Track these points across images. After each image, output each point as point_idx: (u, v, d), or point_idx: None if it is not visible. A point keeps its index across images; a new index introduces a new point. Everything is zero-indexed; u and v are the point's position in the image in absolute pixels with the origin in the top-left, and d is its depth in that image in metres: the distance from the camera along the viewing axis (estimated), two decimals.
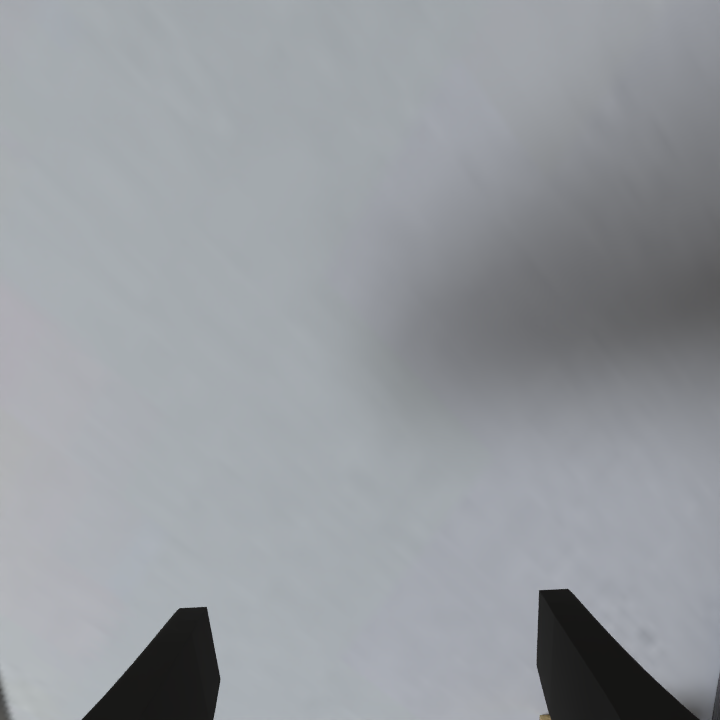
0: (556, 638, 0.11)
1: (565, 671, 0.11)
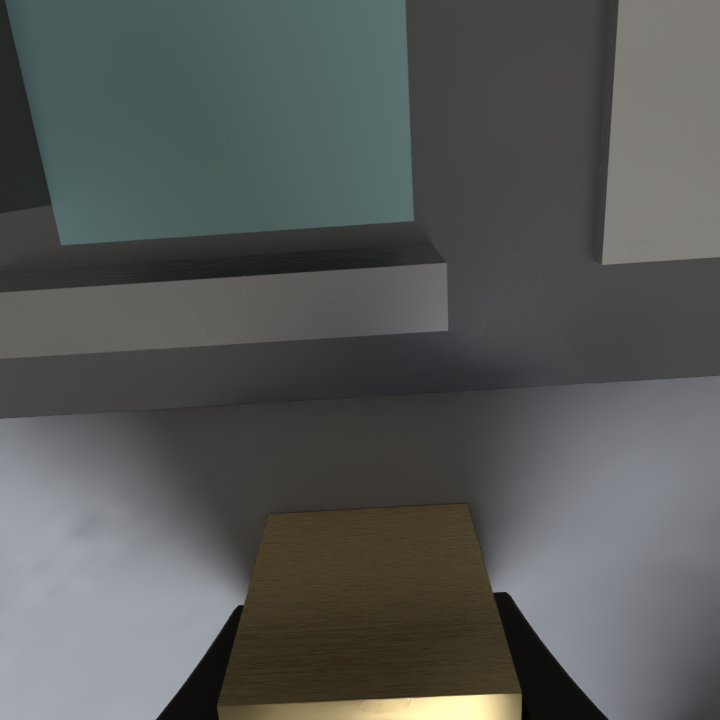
0: None
1: None
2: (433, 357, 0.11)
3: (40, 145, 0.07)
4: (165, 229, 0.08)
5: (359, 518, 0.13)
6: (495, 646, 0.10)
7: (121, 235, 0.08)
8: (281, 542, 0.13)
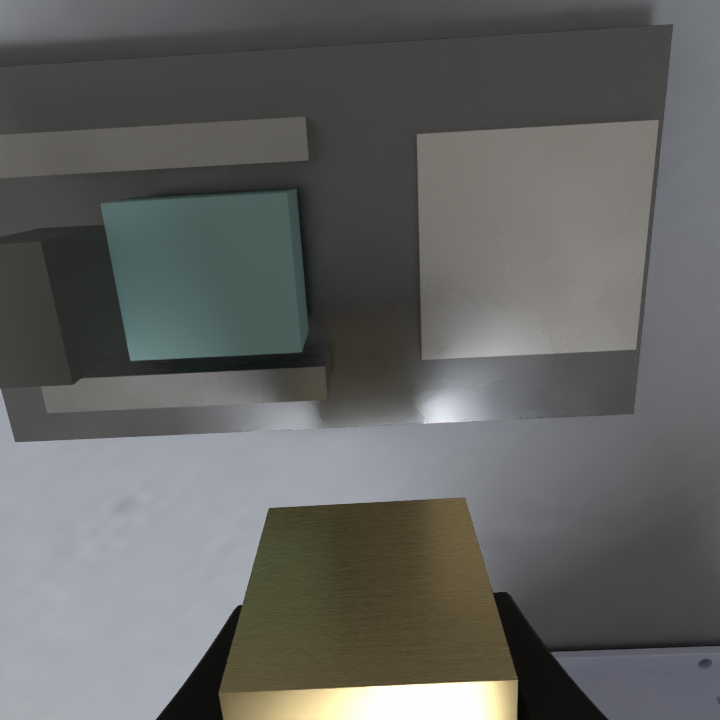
0: None
1: None
2: (333, 407, 0.19)
3: (122, 316, 0.15)
4: (181, 354, 0.16)
5: (358, 512, 0.13)
6: (492, 635, 0.10)
7: (159, 356, 0.16)
8: (281, 534, 0.13)
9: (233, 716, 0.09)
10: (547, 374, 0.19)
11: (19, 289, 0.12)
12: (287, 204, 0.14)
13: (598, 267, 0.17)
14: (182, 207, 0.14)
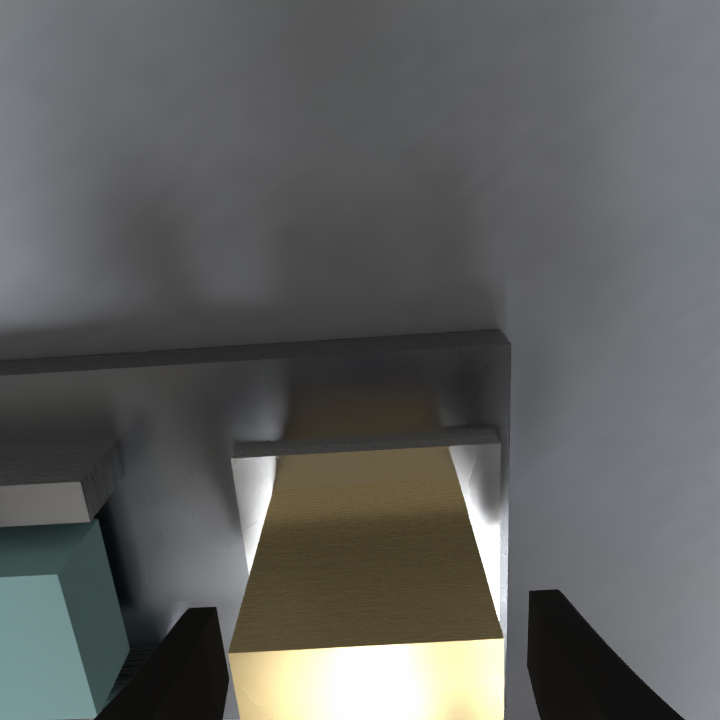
0: (545, 639, 0.11)
1: (554, 672, 0.11)
2: None
3: None
4: None
5: (357, 493, 0.14)
6: (481, 600, 0.10)
7: None
8: (284, 514, 0.13)
9: (241, 675, 0.10)
10: None
11: None
12: (59, 584, 0.13)
13: None
14: None
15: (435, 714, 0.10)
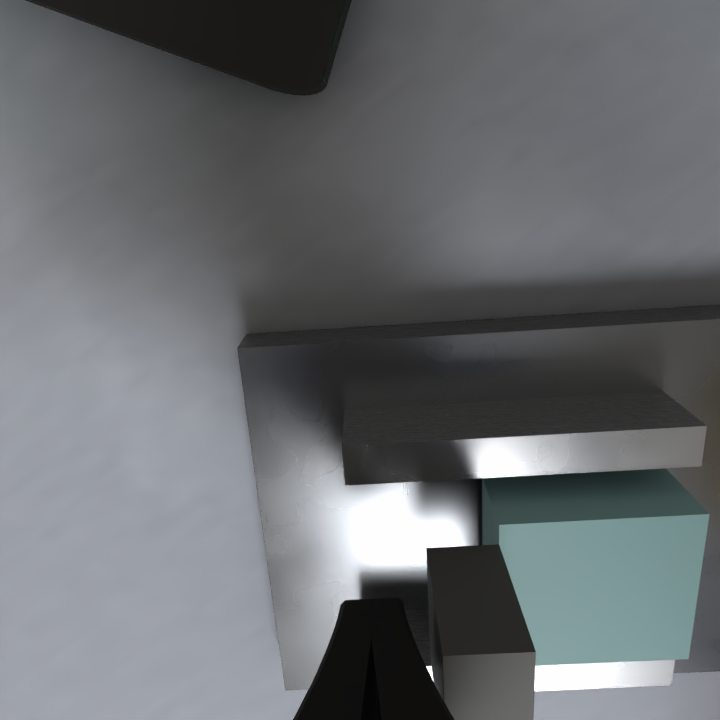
0: None
1: (375, 680, 0.11)
2: None
3: None
4: (555, 661, 0.14)
5: None
6: None
7: None
8: None
9: None
10: None
11: (497, 693, 0.11)
12: (706, 524, 0.13)
13: None
14: (589, 528, 0.13)
15: None
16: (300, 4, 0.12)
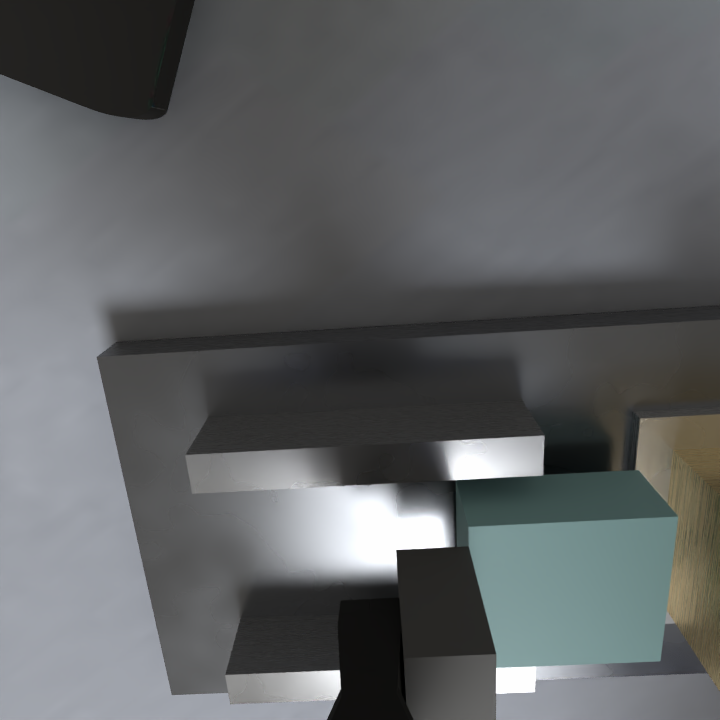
0: None
1: None
2: None
3: None
4: (526, 663, 0.14)
5: None
6: None
7: (502, 665, 0.14)
8: (714, 470, 0.14)
9: None
10: None
11: (459, 695, 0.11)
12: (675, 526, 0.13)
13: None
14: (558, 530, 0.13)
15: None
16: (124, 33, 0.13)
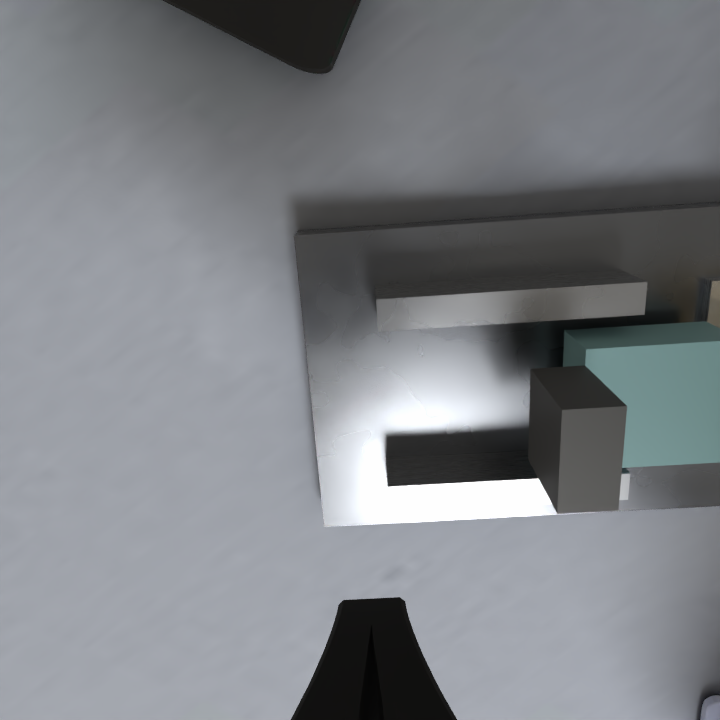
0: (373, 647, 0.12)
1: (377, 680, 0.11)
2: None
3: None
4: (622, 464, 0.19)
5: None
6: None
7: None
8: None
9: None
10: None
11: (598, 440, 0.15)
12: None
13: None
14: (653, 351, 0.17)
15: None
16: (320, 6, 0.17)
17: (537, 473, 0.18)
